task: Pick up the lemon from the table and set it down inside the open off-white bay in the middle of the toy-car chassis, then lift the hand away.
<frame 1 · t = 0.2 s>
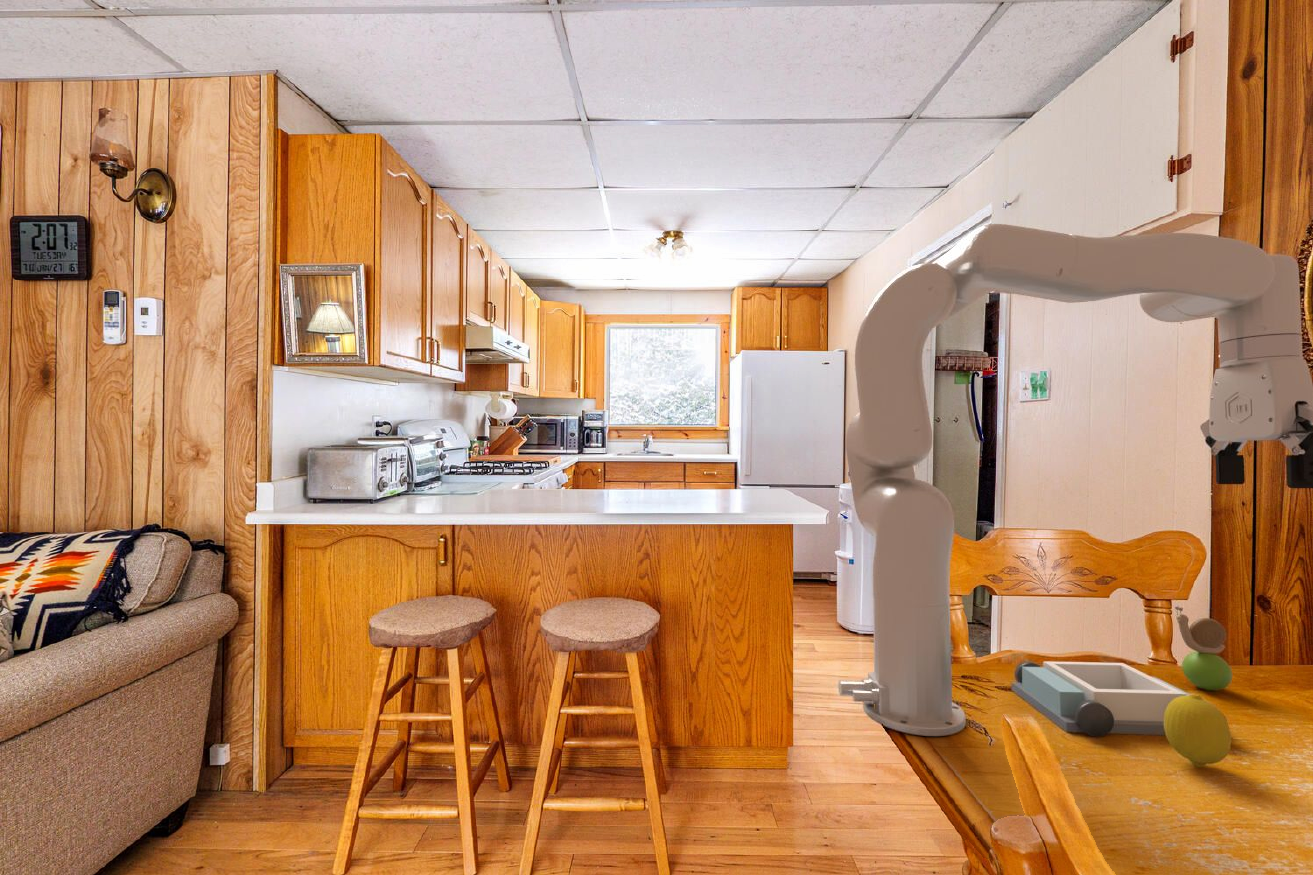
hand: (1264, 485, 75), 31 cm above the table, tool pointing down, fingers open, 9 cm apart
chassis: (1110, 711, 79), on the table
lemon: (1197, 768, 65), on the table
snail figurine: (1203, 690, 87), on the table
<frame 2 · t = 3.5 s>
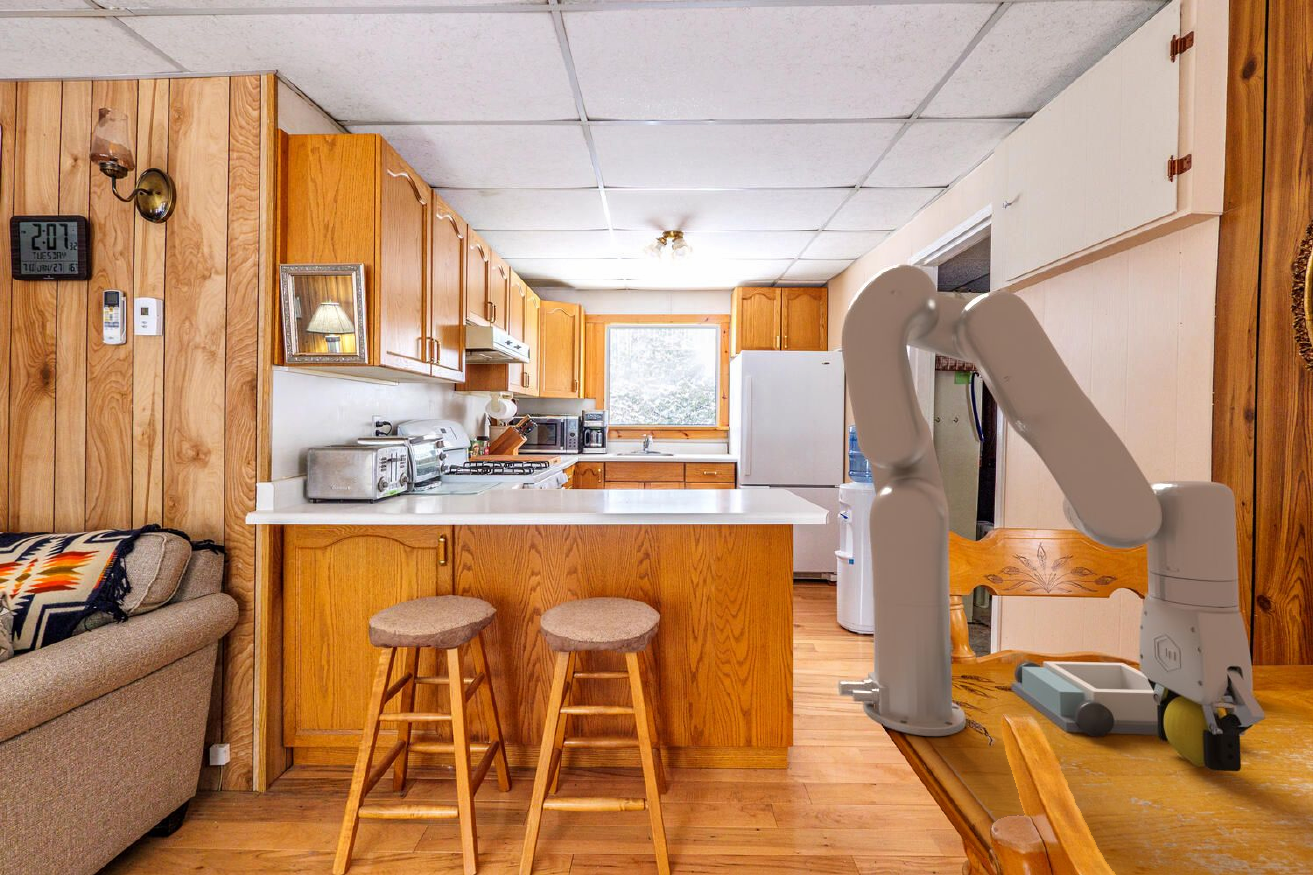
hand: (1197, 752, 65), 2 cm above the table, tool pointing down, fingers closed on lemon, 5 cm apart
lemon: (1197, 768, 65), on the table, touching gripper
everything else where it was.
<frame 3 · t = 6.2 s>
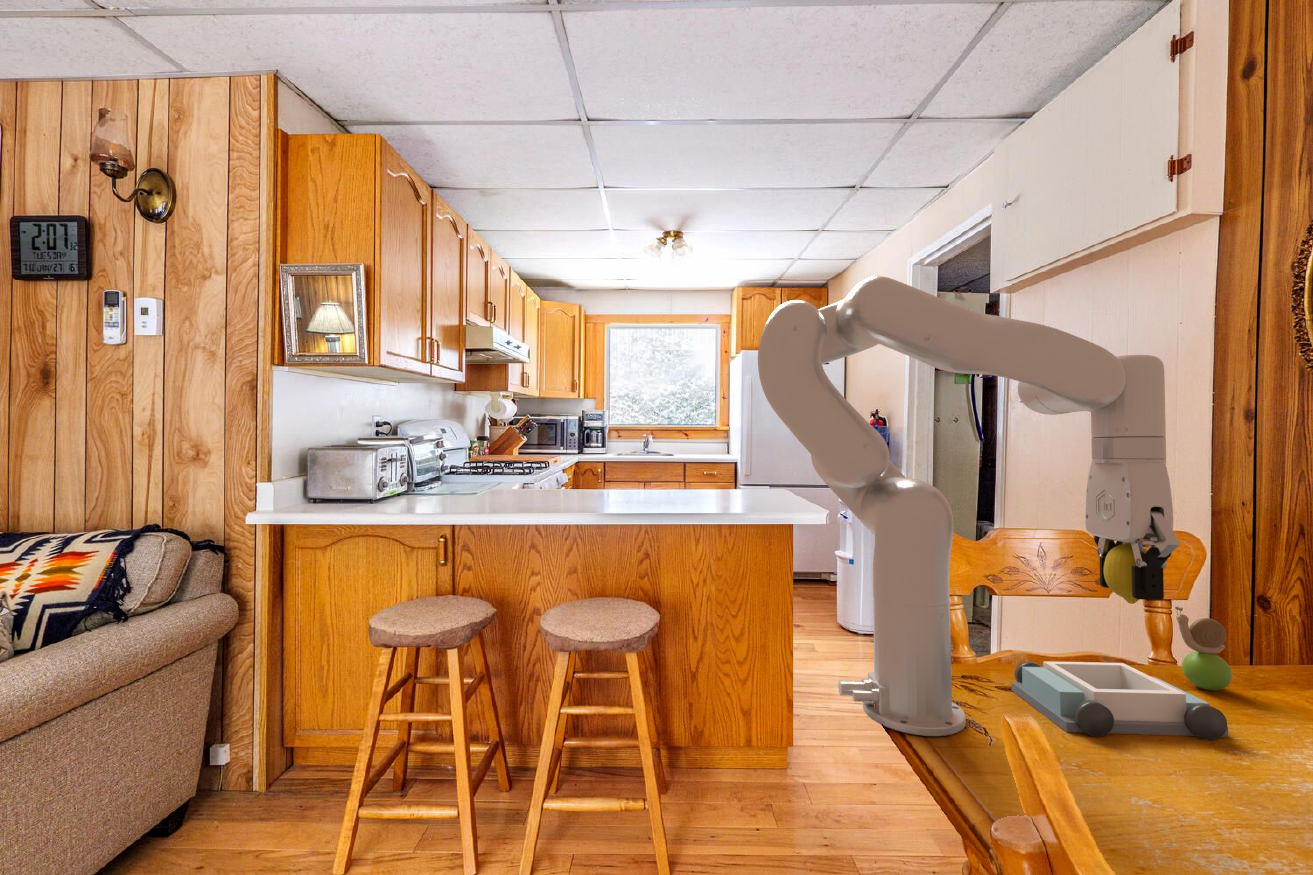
hand: (1130, 591, 75), 17 cm above the table, tool pointing down, fingers closed on lemon, 5 cm apart
lemon: (1131, 605, 75), point 15 cm above the table, touching gripper
everything else where it was.
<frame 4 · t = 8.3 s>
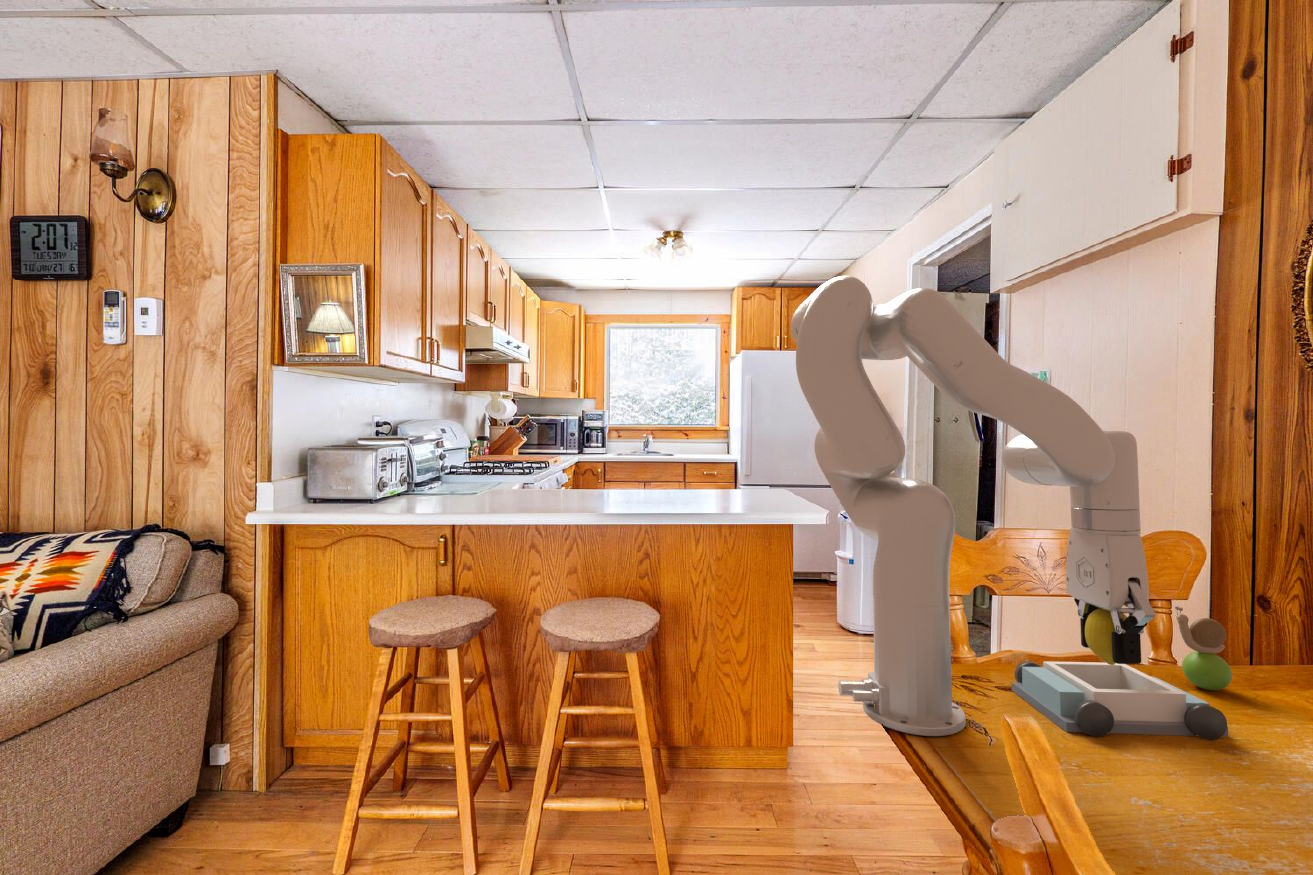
hand: (1110, 653, 79), 8 cm above the table, tool pointing down, fingers closed on lemon, 5 cm apart
lemon: (1111, 666, 79), point 6 cm above the table, touching gripper
everything else where it was.
when the fingers open (5 cm above the table, at t = 9.3 s): lemon drops 2 cm, resting on chassis.
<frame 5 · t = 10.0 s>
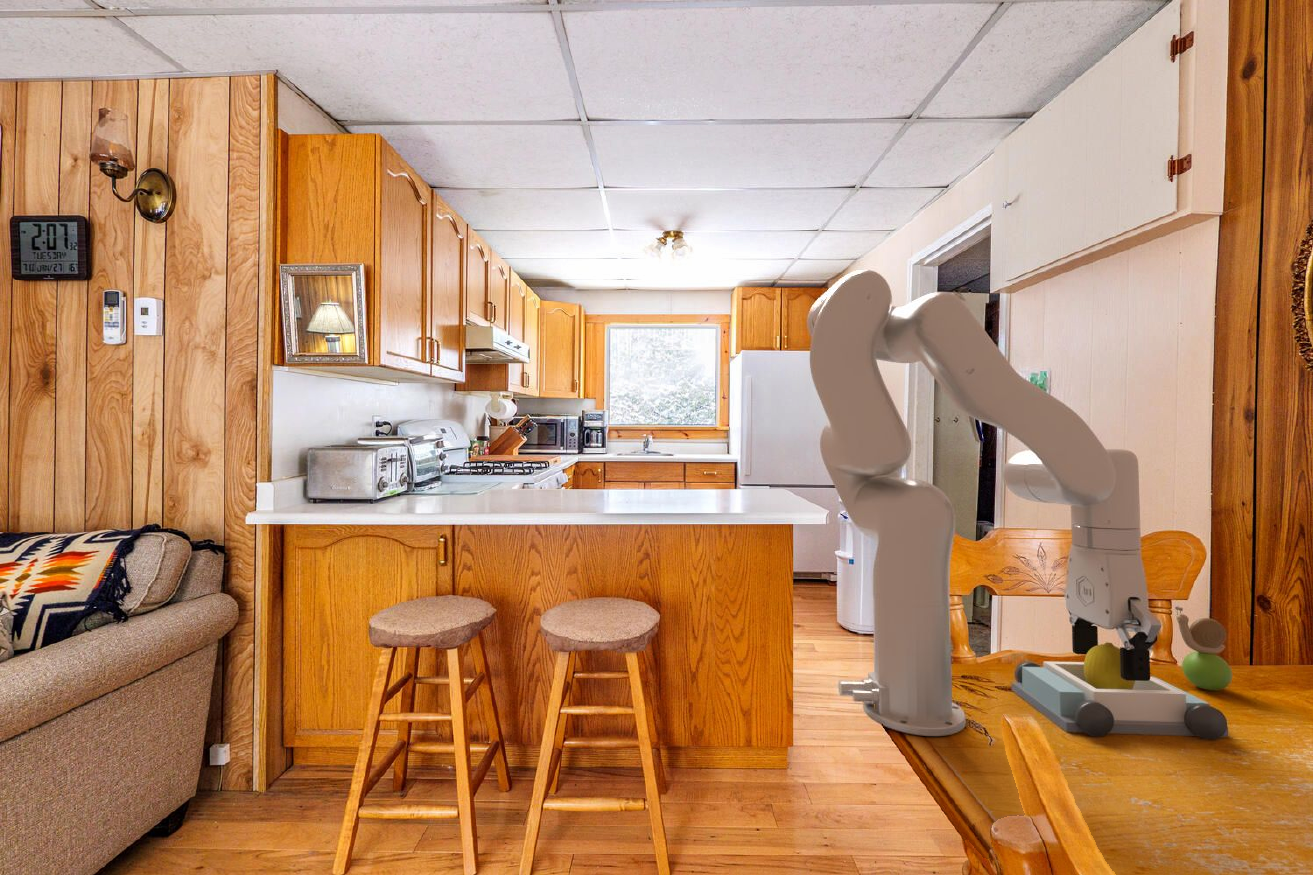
hand: (1108, 665, 79), 6 cm above the table, tool pointing down, fingers open, 9 cm apart
lemon: (1108, 702, 79), point 1 cm above the table, touching chassis
everything else where it was.
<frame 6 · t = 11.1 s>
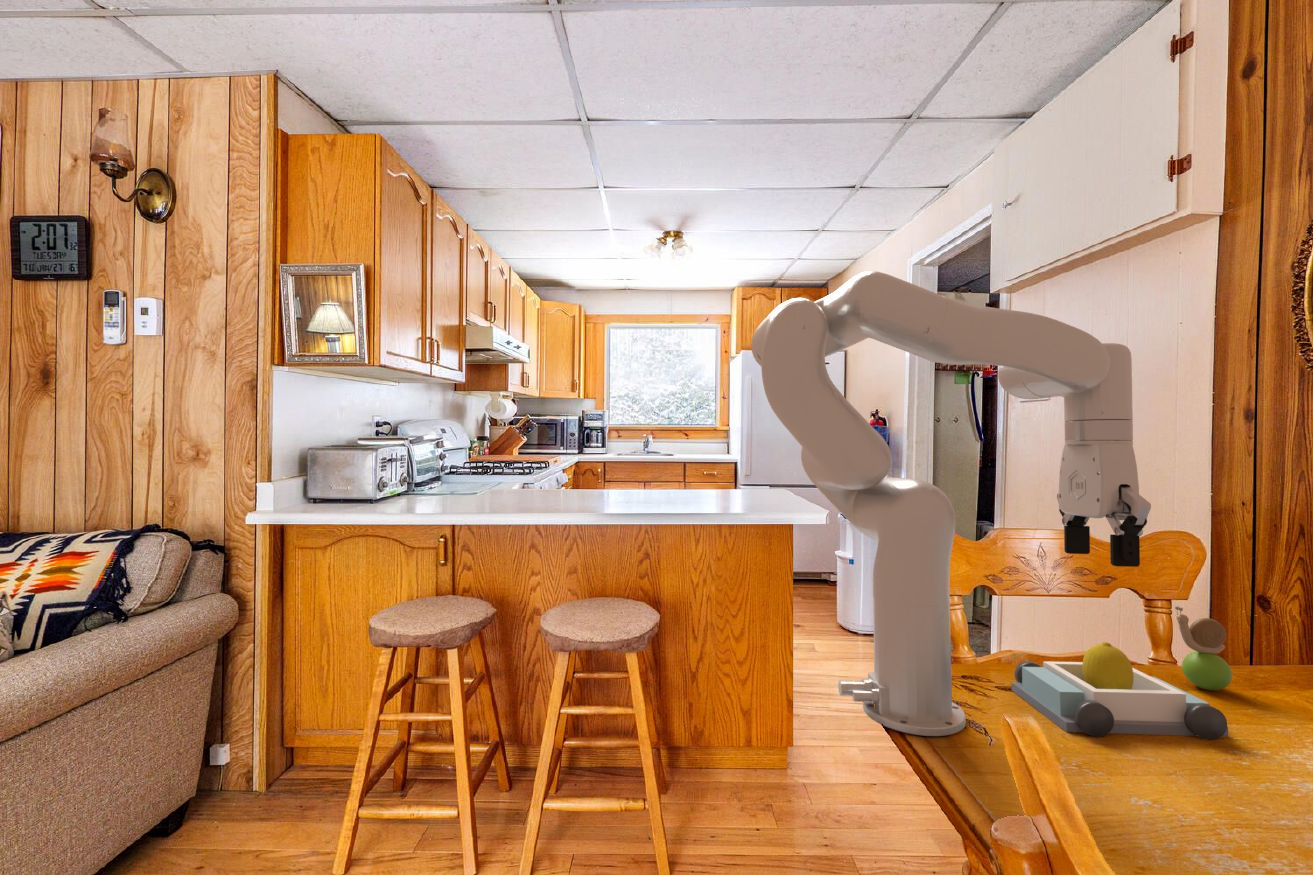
hand: (1099, 559, 80), 20 cm above the table, tool pointing down, fingers open, 9 cm apart
nothing on the table moved.
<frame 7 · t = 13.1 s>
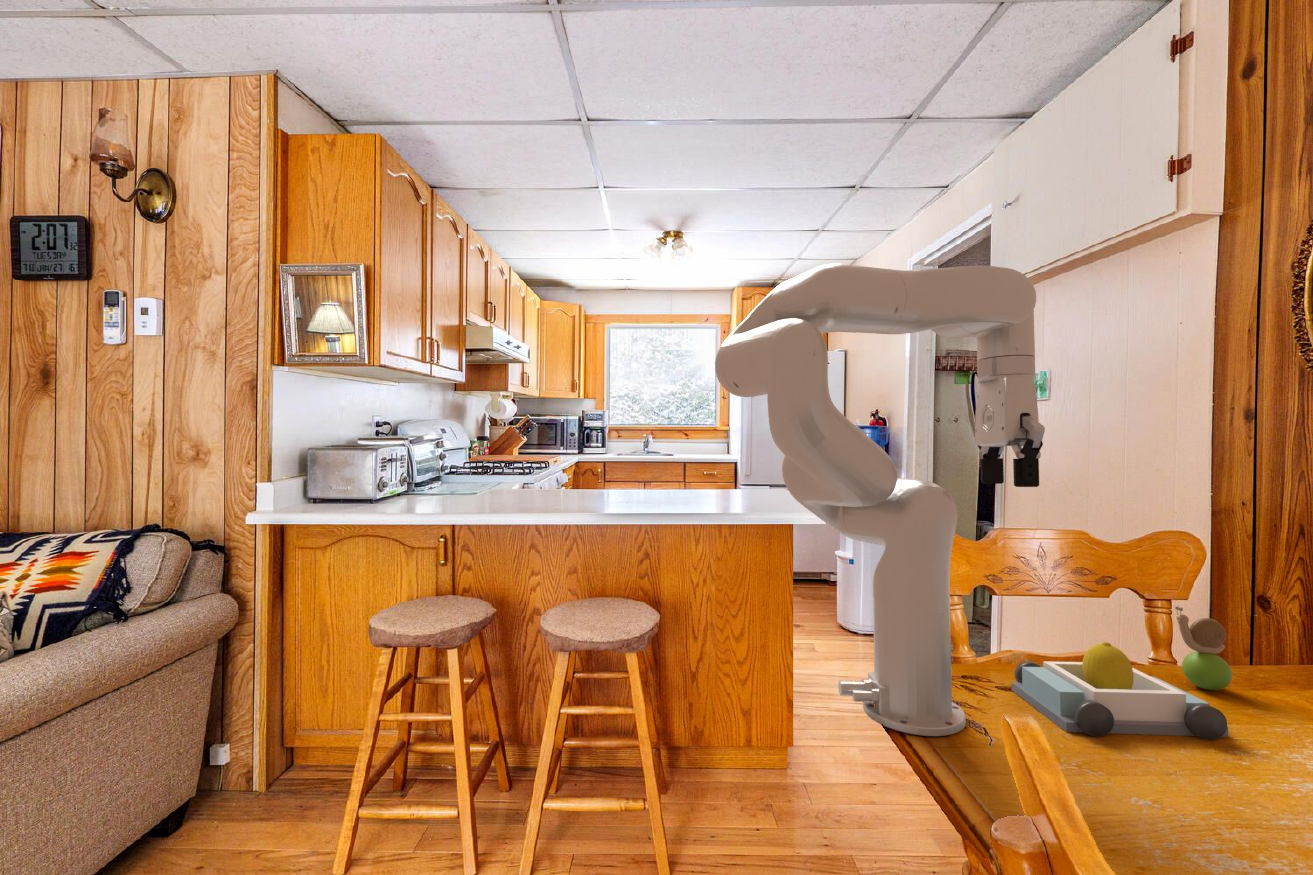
hand: (1008, 485, 88), 30 cm above the table, tool pointing down, fingers open, 9 cm apart
nothing on the table moved.
at the end: lemon 0.2 cm off-centre on the chassis, point 1.0 cm above the chassis's base; the gripper is holding nothing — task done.
